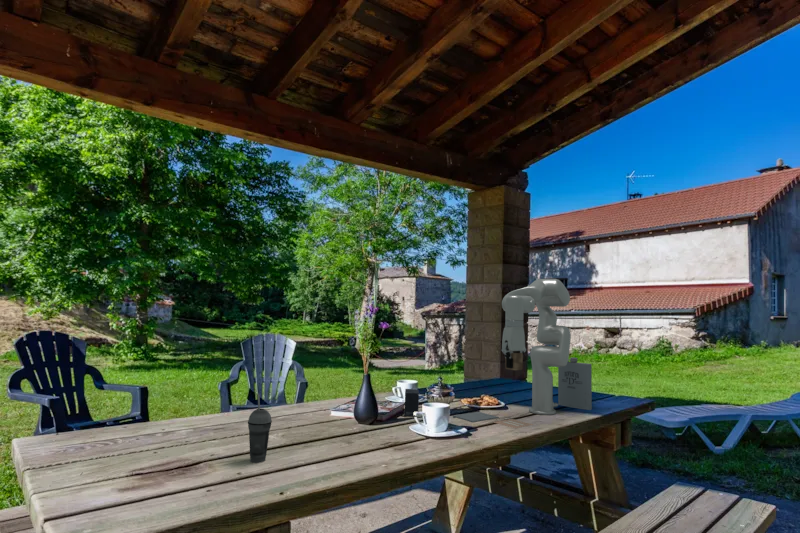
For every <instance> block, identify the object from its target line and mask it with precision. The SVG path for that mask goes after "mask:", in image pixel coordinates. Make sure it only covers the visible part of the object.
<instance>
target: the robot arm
mask: <svg viewBox="0 0 800 533" xmlns="http://www.w3.org/2000/svg"><path fill="white" fill-rule="evenodd" d="M570 301H571V296H570V292H569V290H568V289H567V288H566V286H565V285H564V283H563V282H562V281H561V280H560V279H557V278H538V279H535V280H534V281H533V282H531V283H530V284H529V285H528V286H525V287H522V288H518V289H514V290H512V291H510V292H508V293H507V294H505V295H504V297H503V298H502V300H501V308H502V309H503V311H504V312H505V317H504V318H505V325H504V328H503V331H502V339H501V340H502V342H501V343H502V344H501V352H502V354H503V355H504V358H505V367H506V368H513V359H512V355H513V352H518V353H523V356H524V354H525V353H526V352H527V348H526V336H525V328H524V314H529V313H532V312H533V311H534V310H535V308H537V310H538V318H539V319H538V323H537V331H536V340H537V342H538V343H540V345H535V346H533V347H532V348H531V350H530V361H531V372H532V373H531V377H532V380H531V384H532V385H531V386H532V387H531V388H532V389H531V394H532V395H531V399H532V400H531V401H532V402H531V407H529V408H528V412H529V413H532V414H535V415H545V416H546V415H547V416H549V415H556V414H557V410H556V409H554V408H557V407H558V406H559V405H558V402H554V400H553V398H554V397H553V396H554V393H553V392H554V391H553V390H554V376H553V372H552V371H551V369H550V368H549V367H554V368H555V367H556V368H558V367H565V366H566V365H567V362H569V360H568V359H569V356H570V348H571V339H572V336H571V330H570V329H569V327H567V326H566V325H557V321H558V317H557V314H556V312H555V311H554V310H553V309H552V308H551V307H554V308H555V307H559V308H560V307H561V308H562V307H567V306H568V305H569V304H570ZM541 344H542V345H541ZM509 353H510V354H509Z"/></svg>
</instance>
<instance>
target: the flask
mask: <svg viewBox="0 0 800 533" xmlns="http://www.w3.org/2000/svg"><path fill="white" fill-rule="evenodd" d="M592 369H593V368H592V363H587V362H578V357H570V358H568V362H567V365H566V366H565V367H557V371H558V372H557V374H558V375H557V379H558V380H557V384H558V385H557V393H558V394H557V395H558V396H557V398H558V399H557V401H558V402H557V404H558V406H564V407H568V408H574V409H580V410H586V411H591V410H592V408H593V406H592V403H593V402H592V400H593V398H592V395H593V392H592V388H593V387H592V386H593V384H592V383H593V382H592V374H593V372H592Z"/></svg>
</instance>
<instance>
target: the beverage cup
mask: <svg viewBox="0 0 800 533" xmlns="http://www.w3.org/2000/svg"><path fill="white" fill-rule="evenodd" d="M260 397H261V396H260V393H257V409H255V410H253V411H252V412H251V413H250V415H249V417H248V421H247V427H248V428H247V429H248V437H249V459H250V462H251V463H254V464H255V463H256V464H258V463H263V462H265V461H266V457H267V452H268V444H269V436H270V430H271V427H272V424H273V421H272V414H271V413H270V412H269V411H268V410H267V409H265V408H261V403H260V402H261V401H260V399H261V398H260Z"/></svg>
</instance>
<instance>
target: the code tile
mask: <svg viewBox="0 0 800 533" xmlns="http://www.w3.org/2000/svg"><path fill="white" fill-rule="evenodd" d="M493 423H494V424H497V425H498V424H499V425H501V426H505V427H509V428H512V429H519V428H524V427H525V428H526V427H530V426H534V424H533V423H529V422H526V421H521V420H517V419H515V418H510V419H503V420H499V421H498V420H497V421H493Z"/></svg>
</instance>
